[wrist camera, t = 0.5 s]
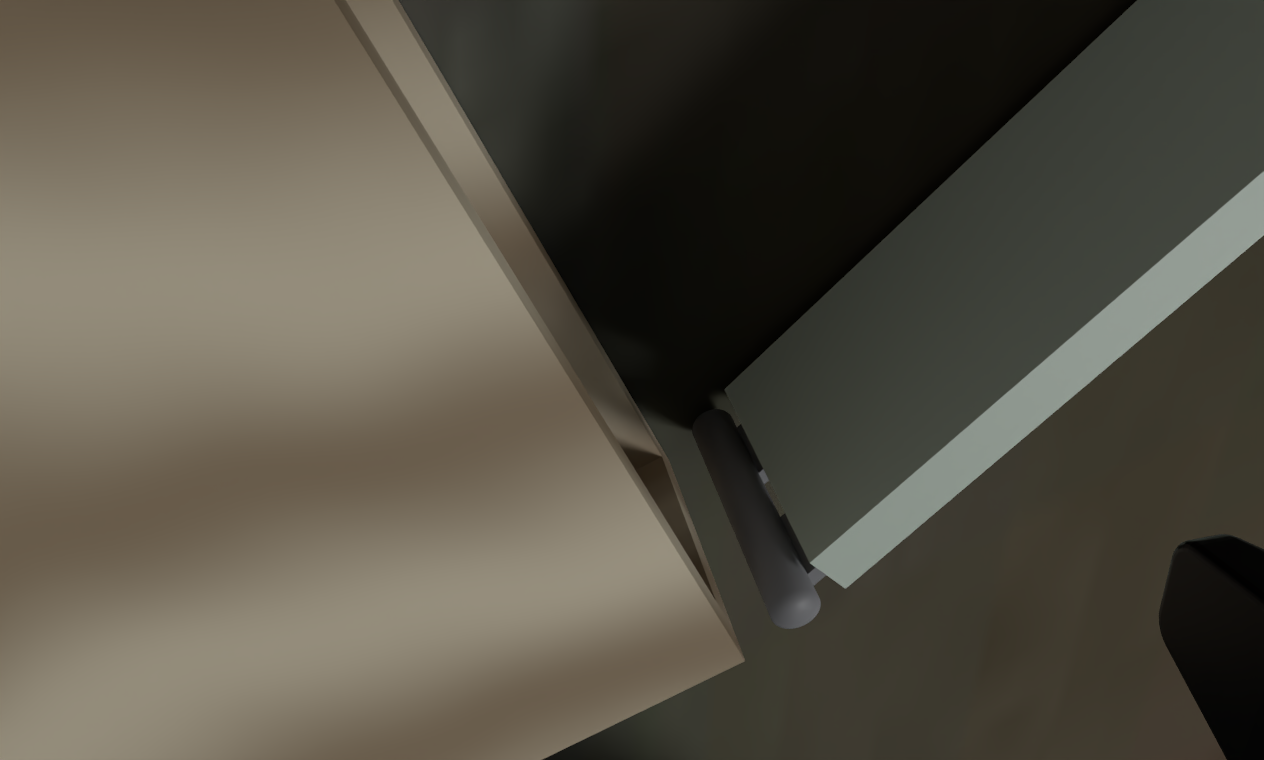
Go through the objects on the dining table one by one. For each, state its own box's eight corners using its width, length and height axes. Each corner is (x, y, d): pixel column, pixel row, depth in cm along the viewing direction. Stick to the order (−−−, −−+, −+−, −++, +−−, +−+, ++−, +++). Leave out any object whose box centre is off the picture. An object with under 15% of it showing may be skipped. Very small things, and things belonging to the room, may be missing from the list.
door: (714, 453, 25) (796, 638, 20) (682, 429, 24) (757, 613, 20) (1313, -102, 21) (1588, -31, 16) (1290, -145, 20) (1567, -84, 16)
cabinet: (668, 459, 25) (745, 660, 20) (195, 699, 26) (156, 947, 21) (255, -244, 17) (210, -199, 12) (-419, 145, 18) (-725, 340, 13)
